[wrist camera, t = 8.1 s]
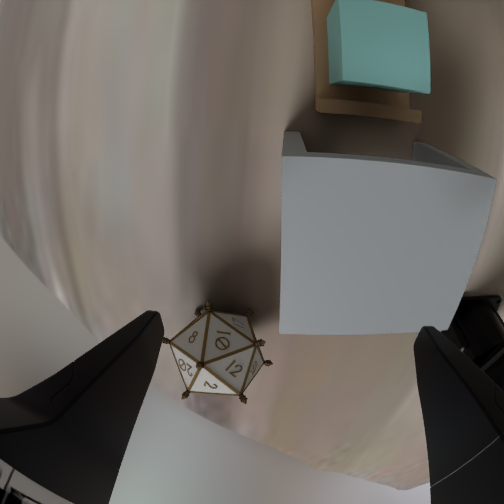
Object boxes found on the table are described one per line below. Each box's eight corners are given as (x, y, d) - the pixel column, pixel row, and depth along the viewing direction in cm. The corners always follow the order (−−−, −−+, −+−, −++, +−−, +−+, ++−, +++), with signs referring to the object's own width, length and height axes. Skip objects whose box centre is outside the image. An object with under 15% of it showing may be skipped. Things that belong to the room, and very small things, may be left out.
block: (397, 27, 12) (426, 12, 8) (399, 92, 14) (430, 93, 11) (326, 17, 13) (338, -5, 9) (329, 84, 15) (342, 80, 11)
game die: (225, 308, 31) (165, 382, 26) (201, 259, 24) (120, 350, 20) (298, 349, 27) (237, 436, 22) (295, 306, 20) (207, 426, 16)
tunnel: (425, 143, 17) (496, 179, 9) (407, 255, 21) (447, 329, 14) (284, 131, 18) (281, 156, 11) (283, 252, 22) (279, 333, 15)
